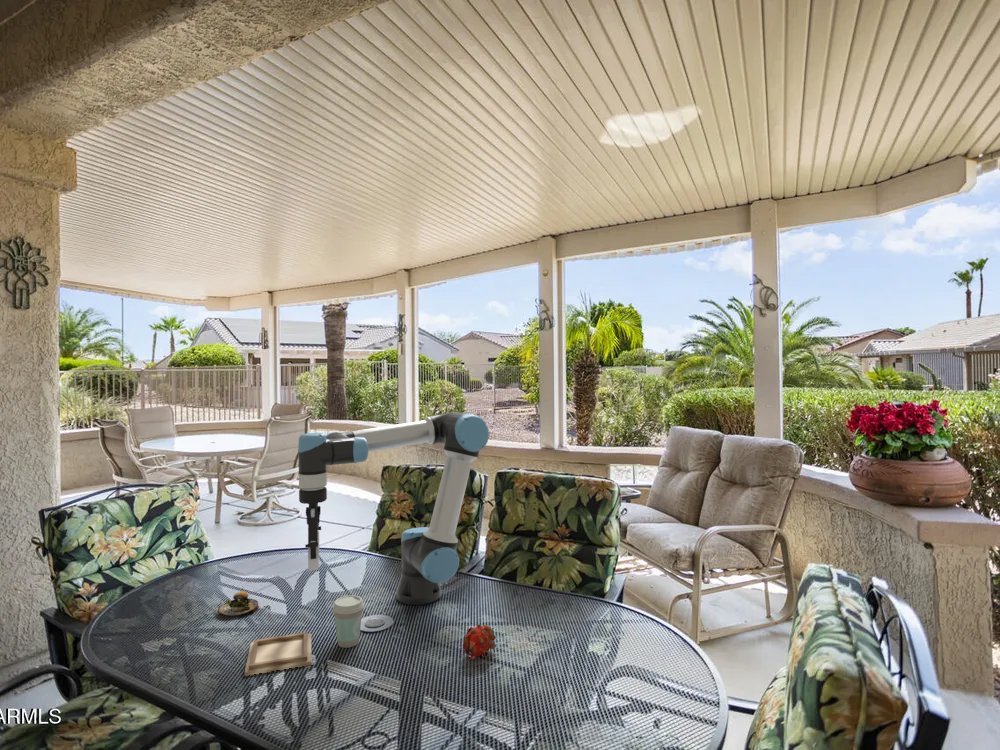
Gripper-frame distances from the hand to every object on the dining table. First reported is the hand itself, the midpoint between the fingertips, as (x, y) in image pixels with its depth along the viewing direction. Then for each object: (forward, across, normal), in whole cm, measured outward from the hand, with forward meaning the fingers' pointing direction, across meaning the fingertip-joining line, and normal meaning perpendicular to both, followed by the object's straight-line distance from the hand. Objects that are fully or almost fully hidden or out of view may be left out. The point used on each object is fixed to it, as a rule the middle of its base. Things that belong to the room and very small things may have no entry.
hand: (314, 561), depth 156 cm
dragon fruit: (+24, +22, +42) cm, 54 cm away
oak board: (+23, +6, -9) cm, 25 cm away
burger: (+23, -28, -24) cm, 43 cm away
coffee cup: (+23, +4, +9) cm, 25 cm away
